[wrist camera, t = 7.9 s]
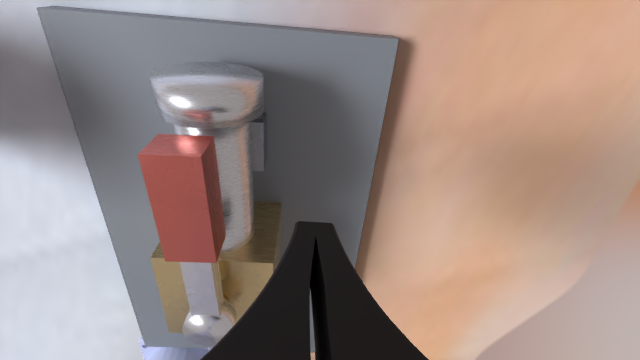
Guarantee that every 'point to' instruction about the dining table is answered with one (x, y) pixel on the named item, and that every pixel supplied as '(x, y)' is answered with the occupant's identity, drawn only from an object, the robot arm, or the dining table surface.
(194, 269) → the valve lever
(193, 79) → the valve body
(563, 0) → the dining table surface
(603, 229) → the dining table surface
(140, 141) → the mounting board
